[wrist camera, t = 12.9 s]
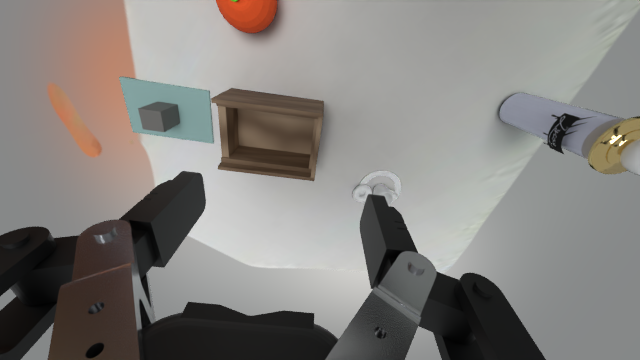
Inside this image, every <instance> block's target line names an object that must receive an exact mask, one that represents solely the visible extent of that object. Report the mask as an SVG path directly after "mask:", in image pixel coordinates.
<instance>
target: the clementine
mask: <svg viewBox="0 0 640 360" xmlns="http://www.w3.org/2000/svg"><path fill="white" fill-rule="evenodd" d="M216 2H217V5H218V8H219V10H220V12H221V14H222V15H223V17H224V18H225V19H226V20H227V21H228V22H229V23H230V25H232V26H233V27H235V28H237V29H238V30H240V31H243V32H246V33H256V32H260V31H262V30H263V29H265V28H266V27H268V26H269V24H270V23H271V22H272V21H273V18H274V16H275V14H276V9H277V0H216Z"/></svg>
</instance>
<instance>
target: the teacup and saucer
mask: <svg viewBox="0 0 640 360" xmlns="http://www.w3.org/2000/svg"><path fill="white" fill-rule="evenodd" d="M376 176H387V177H389V178H391V179H392V180H393V182H394V184H395V190H394V191H393V190H390V189H388V188H387V186H385V185H384V184H377V185H376V186H375V187H374V190H373V193H374V195H382V196H385V198H386V201H387V203H388V206H389V205H390V204H391V203H392V202H393V201H394V200H396V199H398V196H399V194H400V191H401V181H400V179H399V178H398V176H397V175H395V174H394V173H392V172H390V171H385V170H380V171H375V172H372V173H370V174H368V175H367V176H366V177H364V178H363V180H362V181H361V183H360V185H359V186H357V187H356V188H355V189H354V191H353V198H354V200H355V201H357V202H366V199H367V196H368V194H372V190H371V188H370V187H369V186H368V185H366V184H367V182H368V181H369V180H370V179H372V178H374V177H376ZM391 193H393V194H391Z"/></svg>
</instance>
